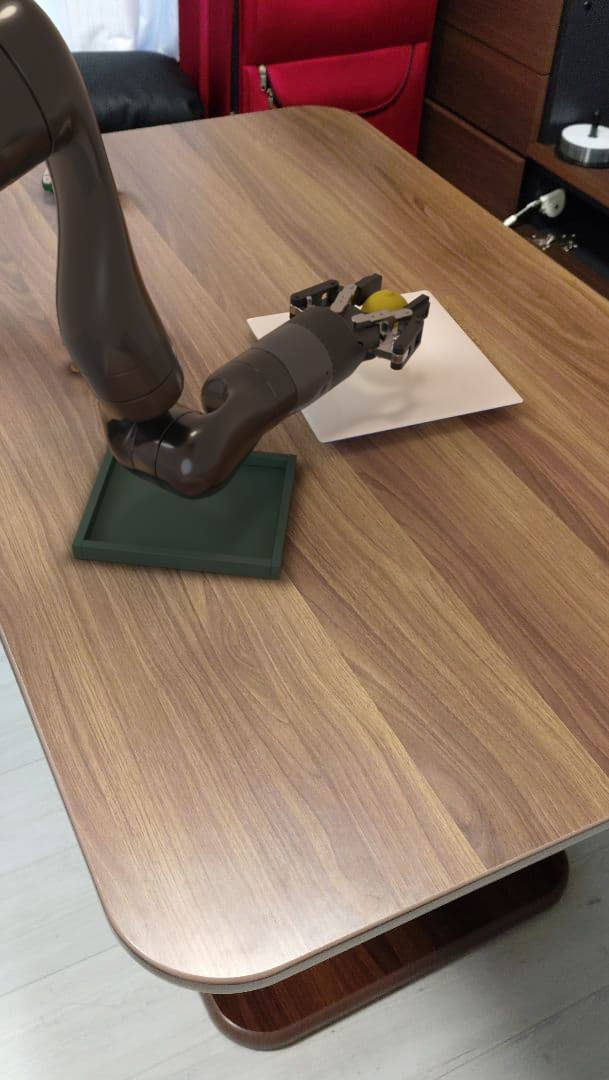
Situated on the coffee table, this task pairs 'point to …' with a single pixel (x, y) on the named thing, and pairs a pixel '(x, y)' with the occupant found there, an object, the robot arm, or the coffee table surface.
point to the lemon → (384, 302)
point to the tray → (191, 520)
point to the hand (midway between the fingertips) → (401, 292)
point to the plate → (407, 383)
